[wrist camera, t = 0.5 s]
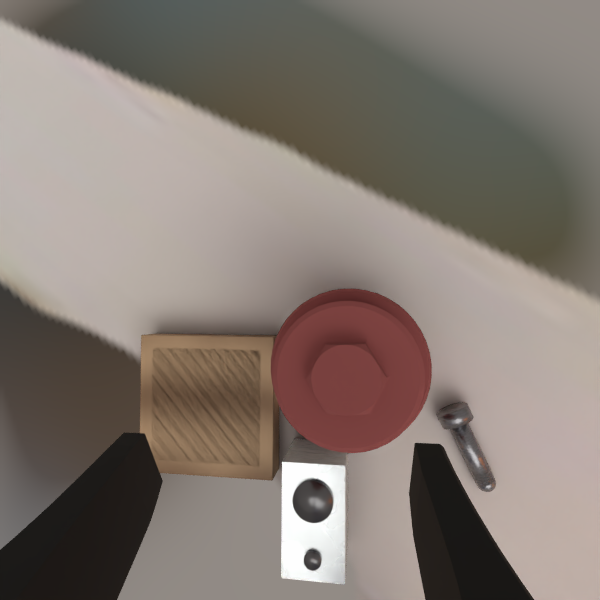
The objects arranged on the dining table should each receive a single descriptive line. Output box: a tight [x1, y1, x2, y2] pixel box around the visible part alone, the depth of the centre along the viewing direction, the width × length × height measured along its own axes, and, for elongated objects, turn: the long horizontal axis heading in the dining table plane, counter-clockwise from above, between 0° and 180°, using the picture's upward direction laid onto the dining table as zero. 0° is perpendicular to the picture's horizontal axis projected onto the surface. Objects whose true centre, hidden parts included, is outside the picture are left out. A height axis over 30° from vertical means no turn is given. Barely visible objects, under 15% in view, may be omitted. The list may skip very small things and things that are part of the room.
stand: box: [140, 334, 279, 480], centre depth 34 cm, size 11×11×2 cm
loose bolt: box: [437, 402, 496, 492], centre depth 31 cm, size 7×2×2 cm, turn 25°
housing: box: [281, 439, 348, 585], centre depth 31 cm, size 8×4×6 cm, turn 0°
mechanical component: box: [271, 289, 431, 453], centre depth 28 cm, size 12×10×10 cm
